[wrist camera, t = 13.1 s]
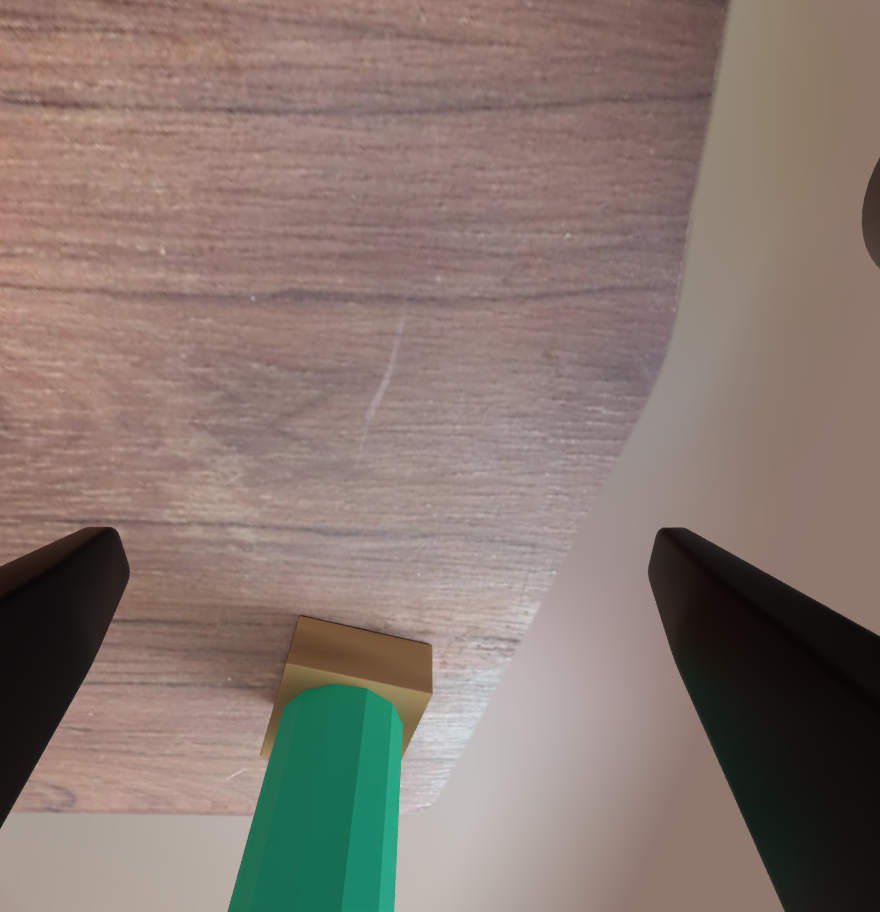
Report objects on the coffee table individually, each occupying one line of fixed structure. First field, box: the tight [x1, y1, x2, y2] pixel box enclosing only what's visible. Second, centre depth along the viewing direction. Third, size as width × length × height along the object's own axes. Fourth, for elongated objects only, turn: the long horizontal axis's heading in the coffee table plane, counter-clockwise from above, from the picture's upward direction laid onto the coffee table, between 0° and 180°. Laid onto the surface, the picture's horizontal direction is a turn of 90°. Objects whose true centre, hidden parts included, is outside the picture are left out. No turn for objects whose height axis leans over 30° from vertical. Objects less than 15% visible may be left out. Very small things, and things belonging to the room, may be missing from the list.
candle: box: [228, 684, 403, 912], centre depth 21 cm, size 6×6×12 cm
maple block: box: [260, 616, 433, 760], centre depth 28 cm, size 7×7×3 cm
